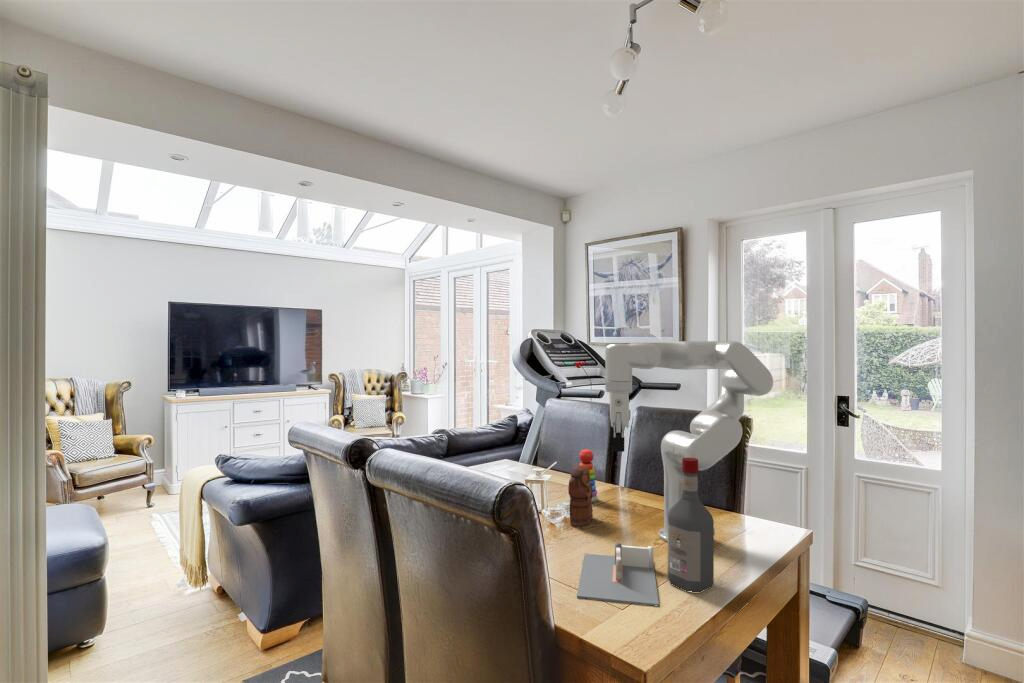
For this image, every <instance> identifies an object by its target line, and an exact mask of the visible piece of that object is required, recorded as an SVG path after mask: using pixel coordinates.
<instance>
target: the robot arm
mask: <svg viewBox="0 0 1024 683" xmlns="http://www.w3.org/2000/svg"><path fill="white" fill-rule="evenodd" d="M604 353H605V354H604V356H605V361H604V363H605V366H604V367H605V370H604V372H605V382H604V383H605V386H604V387H605V390H604V391H605V393H608V394H609V418H610V426H611V427H612V428H613V436H612V451H613V452H621V453H622V452H625V435H624V428H626V429H628V428H629V427H630V423H629V422H630V399H629V394H630V393H633V369H640V370H650V369H652V370H653V369H654V368H662V369H663V368H664V369H670V370H724V371H723V372H722V375H721V377H720V394H719V396H718V398H717V399H716V400H714V402H712V403H711V404H710V405H709V406H707V407H706V408H705V409H703V410H702V411H700V413H698V414H697V415H696V416H695V417H694V418H692V420H691V422H690V424H689V431H690V432H687V431H683V430H677V429H676V430H671V431H669V432H667V433H666V434H665V435H664V436H663V437H662V439H661V441H660V442H661V443H660V451H661V452H660V453H661V454H660V455H661V459H662V464H663V482H664V483H663V527H661V528H660V529H659V530H658V536H659V538H660V539H661V540H663V541H665V542H667V543H668V512H669V510H670V509H671V508H672V507H673V506H674V505H675V504H676V503H677V502H678V501H679V500H680V499H681V498H682V497H681V495H682V493H683V471H682V458H696V459H698V471H706V470H708V469H710V468H712V467H713V466H714V465H715V464H717V463H718V462H719V461H721V460H722V459H723V458H724V457H726V456H727V455H728V454H729V453H730V452H731V451H733V450H734V449H735V448H736V447H737V446H738V444H739V443H740V441H741V439H742V436H743V433H744V432H743V426H742V423H741V422H740V421H739V420H740V419H741V418H742V416H743V415H744V412H745V395H746V396H747V395H748V396H754V397H761V396H765V395H767V394H769V393H770V392H771V391H772V390H773V389H772V388H773V386H774V378H773V375H772V373H771V371H770V370H769V369H768V368H767V367H766V365H764V363H763V362H762V361H761V360H760V359H759V358H758V357H757V355H755V354H754V353H753V352H752V351H751V350H750V349H749V348H748V347H747V346H746V345H744V344H743V343H741V342H739V341H734V340H733V341H732V340H731V341H730V340H729V341H728V340H727V341H726V340H725V341H724V340H723V341H722V340H721V341H720V340H717V341H716V340H713V341H712V340H711V341H708V340H706V341H705V340H702V341H701V340H699V341H698V340H697V341H695V340H694V341H693V340H692V341H691V340H690V341H688V340H686V341H685V340H681V341H679V340H678V341H671V342H670V341H668V342H654V343H653V342H630V343H610V344H607V345H606V347H605V352H604ZM715 532H716V530H715V528H714V536H715V535H716V533H715Z"/></svg>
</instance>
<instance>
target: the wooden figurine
mask: <svg viewBox="0 0 1024 683" xmlns="http://www.w3.org/2000/svg"><path fill="white" fill-rule="evenodd" d="M567 486H568V488H567V489H568V490H567V491H568V496H569V498H570V499H569V523H570V526H573V527H585V526H588V525H590V524H591V521H592V520H593V511H594V510H593V502H592V501H591V499H592V486H591V479H590V471H589V469H588V468H587V467H586V466H582V465H580V464H579V465H576V466H574V467H573V468H572V470H571V473H570V479H569V480H568V485H567Z"/></svg>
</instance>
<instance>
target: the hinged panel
mask: <svg viewBox="0 0 1024 683" xmlns="http://www.w3.org/2000/svg"><path fill="white" fill-rule="evenodd" d="M616 581H622V560H621V554H620V548H617V547H616Z"/></svg>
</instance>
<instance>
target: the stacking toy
mask: <svg viewBox="0 0 1024 683" xmlns="http://www.w3.org/2000/svg"><path fill="white" fill-rule="evenodd" d="M578 455H579V459H580V461H581V462H580V463H579V465H582V466H586V467H587V468H588V469H589V471H590V479H591V486H592V499H591V501H592V503H594V502H596V501H598V495H597V494H598V490H597V485H596V479H595V478H596V475H595V468H594V463H593V462H592V461H594V460H593V459H594V452H592V450H590V449H587V448H585V449H582V450H581V451H580V453H579V454H578Z"/></svg>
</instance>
